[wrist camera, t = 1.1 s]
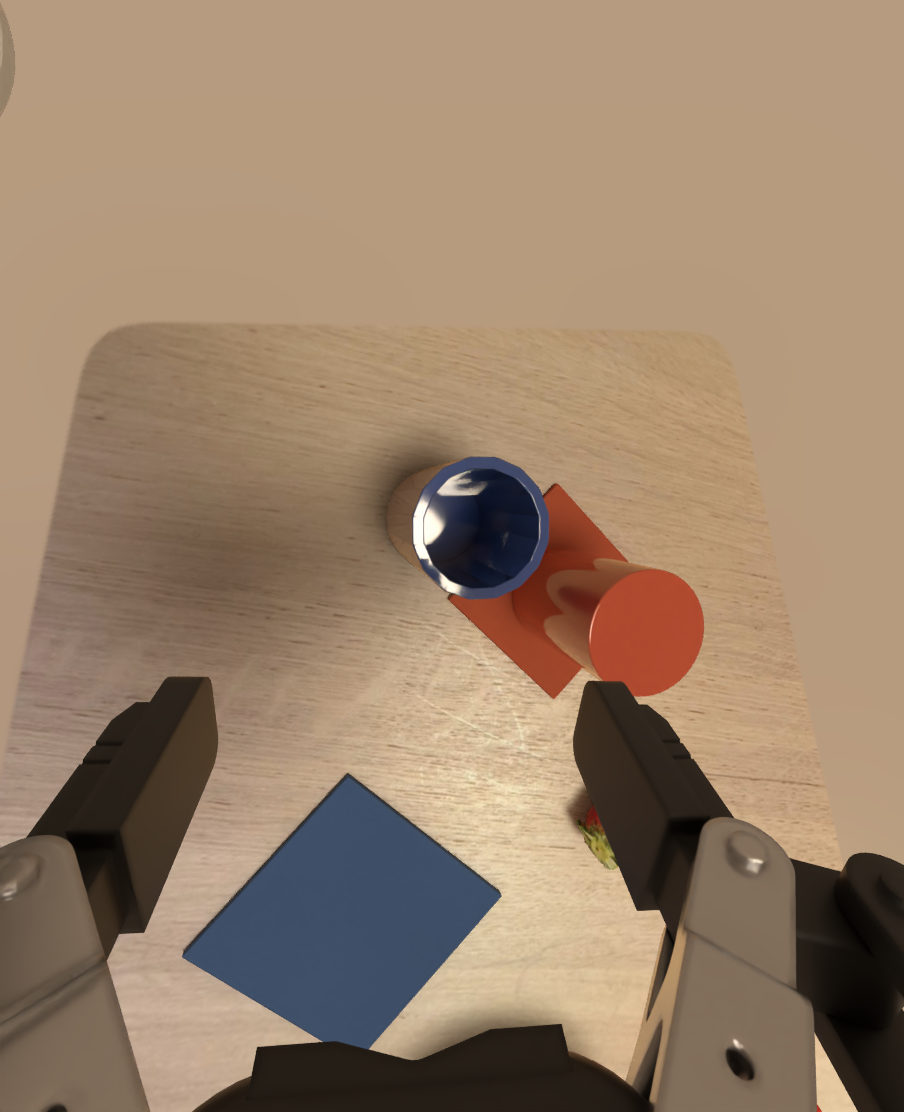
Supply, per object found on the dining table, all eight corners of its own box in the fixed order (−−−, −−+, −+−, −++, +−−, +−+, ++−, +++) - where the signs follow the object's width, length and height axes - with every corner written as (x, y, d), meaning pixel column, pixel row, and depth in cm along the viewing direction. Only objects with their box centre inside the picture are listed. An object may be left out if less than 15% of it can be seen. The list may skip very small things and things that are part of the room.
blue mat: (183, 951, 31) (181, 957, 31) (347, 773, 32) (348, 776, 32) (356, 1056, 34) (357, 1062, 34) (500, 891, 35) (502, 896, 35)
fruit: (647, 818, 38) (694, 865, 33) (573, 849, 36) (610, 903, 32) (637, 765, 37) (684, 806, 32) (561, 796, 36) (597, 843, 31)
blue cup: (364, 520, 31) (381, 531, 21) (434, 447, 31) (483, 425, 21) (436, 588, 32) (482, 627, 22) (502, 517, 32) (575, 527, 23)
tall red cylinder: (492, 597, 32) (562, 640, 23) (556, 528, 33) (652, 541, 23) (554, 658, 34) (644, 722, 24) (615, 591, 34) (727, 628, 25)
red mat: (447, 598, 32) (448, 599, 32) (555, 483, 33) (557, 483, 33) (551, 697, 35) (554, 699, 34) (649, 587, 35) (652, 588, 35)
